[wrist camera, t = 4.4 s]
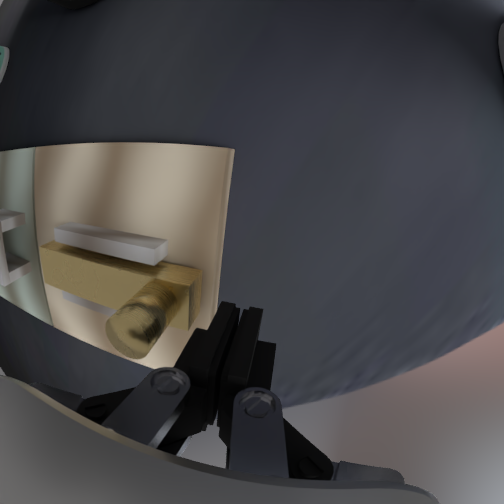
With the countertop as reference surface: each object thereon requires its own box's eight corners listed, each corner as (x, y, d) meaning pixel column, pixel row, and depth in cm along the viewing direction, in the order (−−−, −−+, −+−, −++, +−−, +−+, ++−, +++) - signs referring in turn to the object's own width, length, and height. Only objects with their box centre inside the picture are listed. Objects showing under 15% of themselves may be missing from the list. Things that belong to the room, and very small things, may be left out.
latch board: (234, 149, 13) (205, 144, 9) (212, 369, 18) (191, 419, 13) (-11, 154, 15) (-46, 160, 11) (1, 285, 20) (-26, 302, 16)
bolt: (202, 270, 13) (159, 323, 9) (199, 311, 14) (163, 372, 9) (58, 237, 14) (3, 264, 10) (62, 272, 15) (12, 304, 10)
